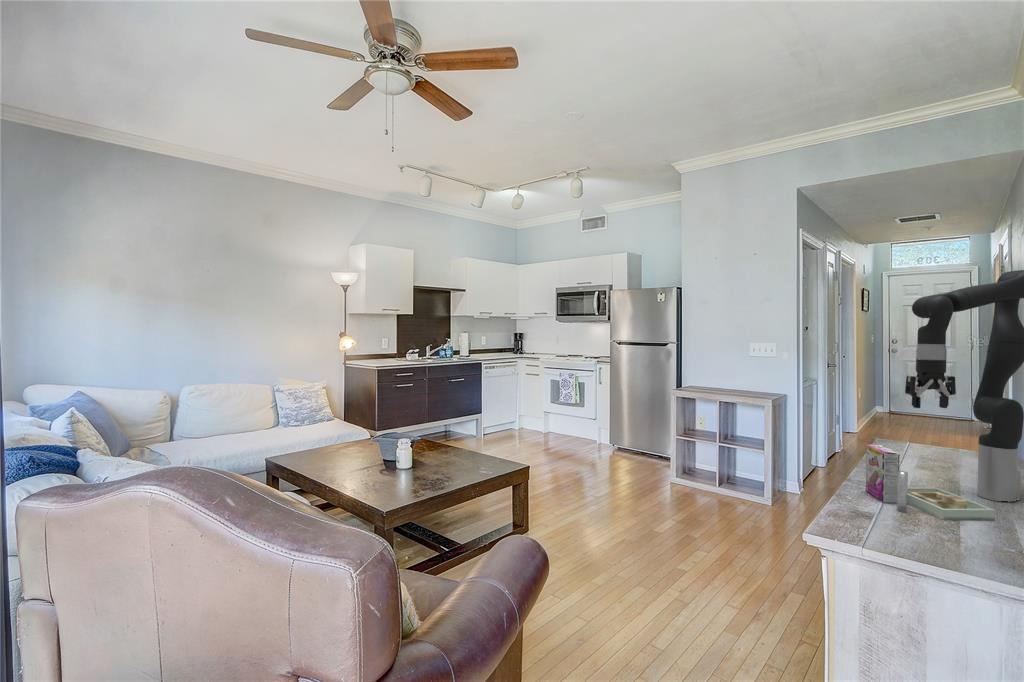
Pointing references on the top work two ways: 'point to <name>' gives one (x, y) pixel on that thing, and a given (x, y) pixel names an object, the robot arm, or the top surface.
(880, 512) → the top surface
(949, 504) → the wooden frame with handle
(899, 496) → the steel post
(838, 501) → the top surface
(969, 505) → the tray
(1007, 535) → the top surface
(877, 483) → the candy bar box
